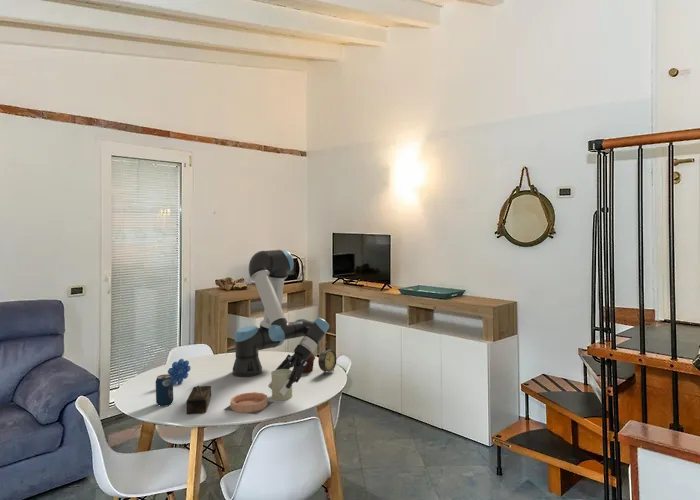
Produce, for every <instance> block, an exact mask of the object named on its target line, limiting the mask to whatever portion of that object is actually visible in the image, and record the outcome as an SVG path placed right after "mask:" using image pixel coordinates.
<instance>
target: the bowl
mask: <svg viewBox="0 0 700 500" xmlns="http://www.w3.org/2000/svg"><path fill="white" fill-rule="evenodd" d="M267 401H268V395H266V394H265V393H264V392H252V391H251V392H243V393H240V394H236V395H235V396H232V397H231V398H230V401H229V402H230V404H229V406H230V407H231V409H232V410H233V411H232V412H235V413H240V414H241V413H242V414H250V412H256V411H259V410H262V409H264V408H265V407H266V406H267ZM264 410H265V409H264Z"/></svg>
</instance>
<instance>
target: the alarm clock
mask: <svg viewBox="0 0 700 500" xmlns="http://www.w3.org/2000/svg"><path fill="white" fill-rule="evenodd" d="M326 344H329V342H328V341H326V342H325V343H324V345H326ZM328 347H329V345H327V346H324V348H325V349H324V350H323V349H322V351H321V352H320V354H319V356H318V361H317V362H318V366H319V369H320V370H321V371H323V376H325V375H326V372H329V373H331V372H332V371H335V368H336V366H337V365H336V364H337V354H336V352H335V351H334V350H333V349H328Z"/></svg>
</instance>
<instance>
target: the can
mask: <svg viewBox="0 0 700 500" xmlns="http://www.w3.org/2000/svg"><path fill="white" fill-rule="evenodd" d="M291 373H292V370H291V369H278V370H276V369H274V370H272V371H271V373H270V374H271V381H272V390H271V399H273V400H275V401H286V400H290V399H292V398H293V384H292V385H291V387H290V388H289V389H288V391H287V392H286V393H285V395H284V396H283V395H282V394H281V393H280V392H279V391H280V390H281V388H282V387H283V386H284V384H285V383H286V381H287V380H288V379H289V378H290V376H291ZM289 380H290V379H289Z"/></svg>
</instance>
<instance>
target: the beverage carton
mask: <svg viewBox="0 0 700 500" xmlns="http://www.w3.org/2000/svg"><path fill="white" fill-rule="evenodd" d="M211 397H212V385H203V386H202V385H201V386H200V385H196V386H193V388H192V389H191V391H190V393H189V395H188V397H187V399H186V406H185V407H186V412H185V413H186V415H197V414H206V413H207V411H208V407H209V404H210V401H211Z"/></svg>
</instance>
